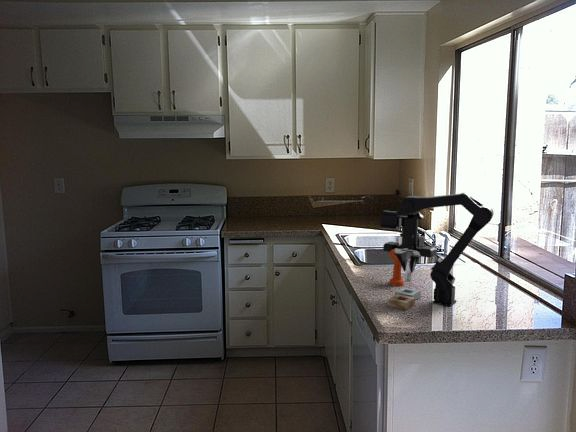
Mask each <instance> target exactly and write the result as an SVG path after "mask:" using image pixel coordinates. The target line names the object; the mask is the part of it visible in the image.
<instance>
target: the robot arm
mask: <svg viewBox="0 0 576 432" xmlns="http://www.w3.org/2000/svg"><path fill="white" fill-rule="evenodd" d="M451 206H462V207H463V208H464V209H466V211H468V212H469V213H470V214H471V215H472V217H471V220H470V222H469V224H468V226H467V228H466V229H465V230H464V232H463V234H462V235H461V236H460V237H459V239H458V240H457V241H456V243H455V244H454V245H453V247H452V248H451V249H450V251H449V252H448V254H447V255H446V256H445V257H444V258H442V257H440V256H439V257H438V258H437V260H436V262H435V264H433V266H432V267H431V268H430V270H431V272H430V278H431V281H433V283H435V285H434V288H433V298H432V299H433V301H432V303H433V304H437V305H442V306H448V307H451V306H452V305H454V304H455V303H456V302H457V300H456V286H454V283H455V281H456V277H454V275H453V274H452V273H451V272H452V269H453V268H454V265H455V263H456V261H457V260H458V259H459V258H460V256H461V255H462V254H463V252H465V250H466V248H467V247H468V246H469V244H470V243H471V242H472V240H473V239H474V237H475V236H476V235H477V234H478V233H479V232H480V231H481V230H482V229H483V228H485V226H487V225H488V224H489V223H490V222H491V221H492V219H493V217H494V209H493V207H491V206H490V205H487V204H484V203H481V201H478V199H475V198H474V197H472V196H471V195H470V194H469V193H468V192H461V193H453V194H445V195H435V196H422V195H408V196H407V197H405V198H403V199H402V200H401V203H400V207H399V209H397V211H394V210H393V211H392V210H391V211H390V210H383V211H382V214H381V220H380V227H381V229H382V230H383V229H384V230H395V231H396V230H398V229H399V228H401V232H400V234H399V237H401V244H400V242H397V241H387V242H385V243H384V244H383V247H382V250H383V252H388V253H389V252H391V251H392V250H393V249H394V250H395V253H394V255H396V256H397V258H398V259H399V261H400V263H401V265H402V267H401V269H402V270H403V271H404V272H405V264H406V260H407V256H408V253H412V254H411V255H409V256H410V258H409V259H410V269H411V273H412V274H413V273H414V271H415V269H416V266H417V263H418V261H419V260H420V258H423V257H424V258H432V257H434V256H436V255H437V249H436V247H435V246H428V245H426V246H424V243H425V238H423V237H421V236H420V232H419V230H418V229H419V220H423V219H424V218H425V216H424V215H423V214H422V213H421V212H420V211H423V210H426V209H431V208H439V207H451ZM416 212H417V213H416ZM404 214H407V215H404Z"/></svg>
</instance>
